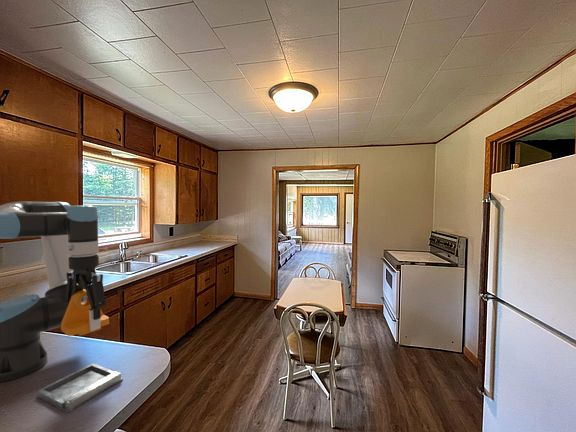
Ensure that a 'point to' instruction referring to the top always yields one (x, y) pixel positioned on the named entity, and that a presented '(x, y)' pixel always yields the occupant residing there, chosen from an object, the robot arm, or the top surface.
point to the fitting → (79, 387)
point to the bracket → (79, 316)
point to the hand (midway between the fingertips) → (85, 327)
